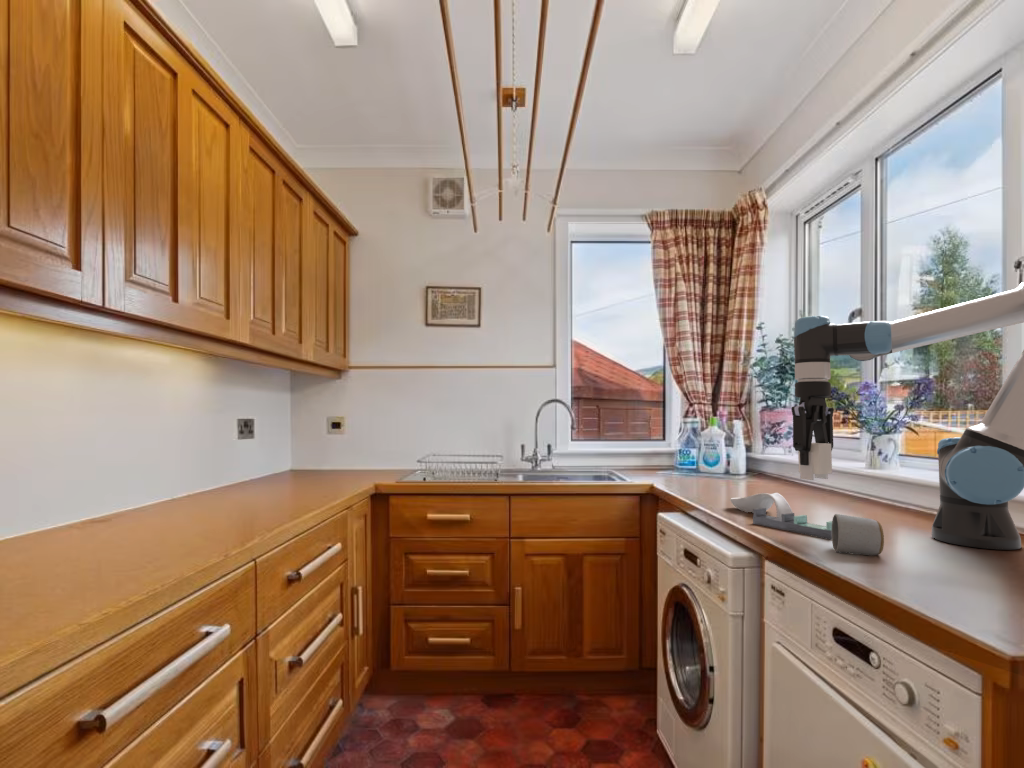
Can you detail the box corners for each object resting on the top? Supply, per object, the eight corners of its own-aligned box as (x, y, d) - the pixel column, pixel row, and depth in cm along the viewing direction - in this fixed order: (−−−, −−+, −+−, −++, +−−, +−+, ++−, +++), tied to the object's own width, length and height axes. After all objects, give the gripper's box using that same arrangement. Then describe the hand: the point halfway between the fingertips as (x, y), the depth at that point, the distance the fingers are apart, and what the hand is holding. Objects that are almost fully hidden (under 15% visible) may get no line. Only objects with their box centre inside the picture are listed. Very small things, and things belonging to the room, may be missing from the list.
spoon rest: (723, 508, 162) (722, 484, 163) (759, 508, 163) (759, 484, 163) (766, 524, 139) (765, 496, 139) (809, 524, 139) (808, 496, 140)
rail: (841, 537, 122) (840, 521, 122) (831, 539, 120) (830, 522, 120) (762, 522, 140) (762, 507, 140) (753, 523, 138) (752, 508, 138)
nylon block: (832, 473, 125) (831, 443, 125) (819, 474, 122) (818, 443, 123) (811, 471, 129) (810, 442, 130) (798, 472, 127) (798, 442, 127)
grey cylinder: (886, 560, 103) (885, 520, 104) (838, 555, 106) (837, 516, 107) (871, 548, 113) (870, 512, 114) (827, 544, 116) (826, 509, 117)
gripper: (818, 383, 135) (820, 475, 134) (774, 380, 126) (775, 478, 125) (849, 382, 128) (851, 478, 127) (805, 378, 120) (806, 482, 118)
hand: (814, 478), depth 126 cm, fingers closed on nylon block, 5 cm apart
